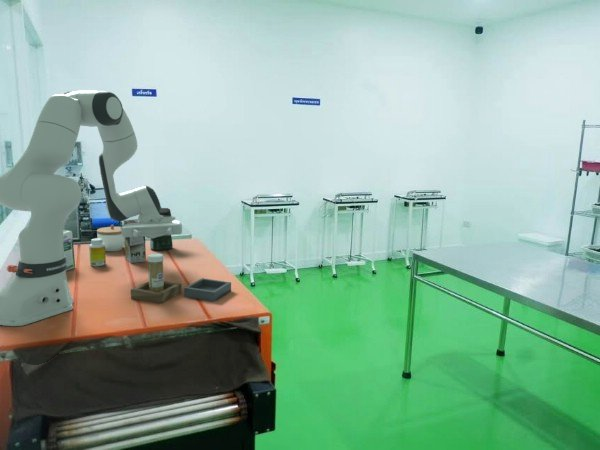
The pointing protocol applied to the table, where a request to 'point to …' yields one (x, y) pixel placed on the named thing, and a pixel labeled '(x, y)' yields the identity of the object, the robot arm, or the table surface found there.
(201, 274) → the table surface
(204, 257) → the table surface
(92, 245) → the supplement bottle
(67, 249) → the syrup box
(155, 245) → the coffee jar
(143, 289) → the socket block
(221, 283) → the tray
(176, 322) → the table surface
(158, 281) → the sprinkles bottle
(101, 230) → the lidded bowl
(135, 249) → the coffee box
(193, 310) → the table surface
